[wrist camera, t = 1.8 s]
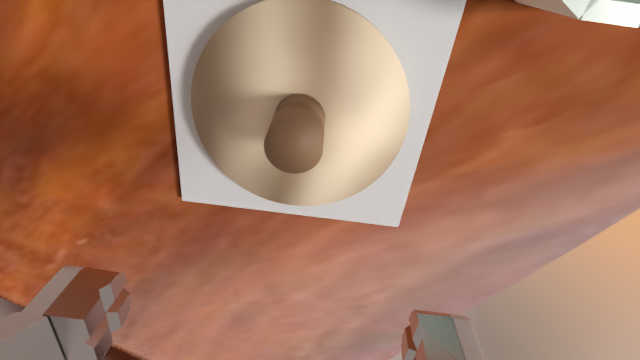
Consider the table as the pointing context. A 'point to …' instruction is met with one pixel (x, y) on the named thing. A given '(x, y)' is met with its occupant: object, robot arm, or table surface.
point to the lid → (300, 101)
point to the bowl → (593, 10)
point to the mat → (411, 49)
